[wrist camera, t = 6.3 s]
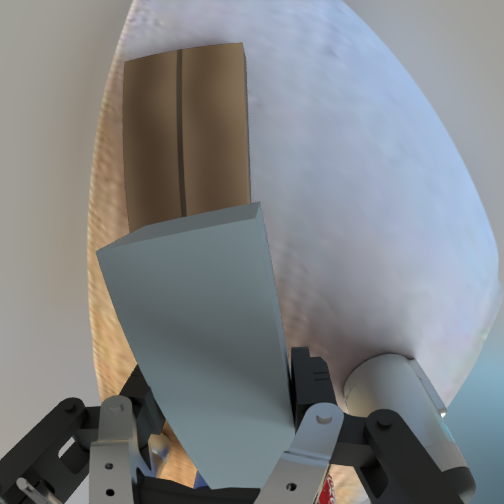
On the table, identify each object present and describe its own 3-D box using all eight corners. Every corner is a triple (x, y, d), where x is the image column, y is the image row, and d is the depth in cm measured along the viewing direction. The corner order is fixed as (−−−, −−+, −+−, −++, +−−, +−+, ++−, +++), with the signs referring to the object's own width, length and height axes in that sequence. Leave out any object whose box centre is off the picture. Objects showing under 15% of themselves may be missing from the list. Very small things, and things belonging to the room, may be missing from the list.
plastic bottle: (129, 418, 35) (80, 521, 16) (171, 426, 35) (131, 541, 16) (140, 442, 37) (101, 536, 18) (178, 449, 37) (148, 552, 18)
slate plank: (259, 201, 11) (255, 217, 8) (301, 436, 15) (305, 488, 11) (144, 226, 12) (95, 251, 8) (222, 442, 16) (213, 492, 12)
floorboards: (245, 59, 22) (242, 42, 18) (252, 251, 27) (249, 265, 23) (142, 73, 23) (124, 61, 19) (151, 253, 28) (134, 266, 24)
